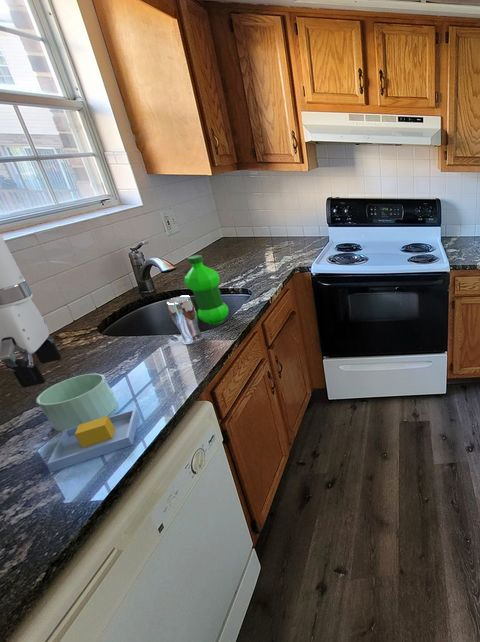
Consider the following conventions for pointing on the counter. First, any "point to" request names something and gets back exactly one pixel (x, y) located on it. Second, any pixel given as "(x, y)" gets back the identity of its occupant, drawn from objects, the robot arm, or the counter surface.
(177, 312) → the beer glass
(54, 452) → the tray
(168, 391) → the counter surface
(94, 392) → the bowl
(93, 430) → the sponge
